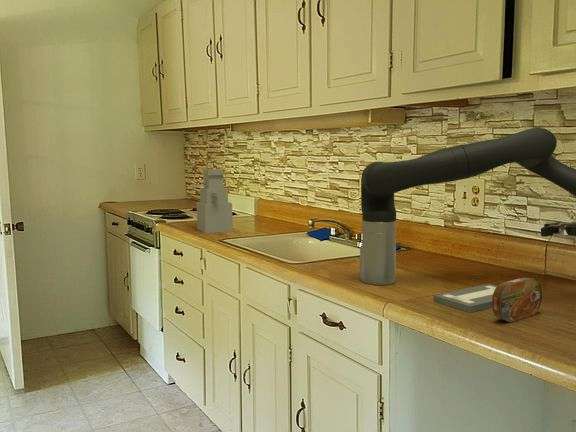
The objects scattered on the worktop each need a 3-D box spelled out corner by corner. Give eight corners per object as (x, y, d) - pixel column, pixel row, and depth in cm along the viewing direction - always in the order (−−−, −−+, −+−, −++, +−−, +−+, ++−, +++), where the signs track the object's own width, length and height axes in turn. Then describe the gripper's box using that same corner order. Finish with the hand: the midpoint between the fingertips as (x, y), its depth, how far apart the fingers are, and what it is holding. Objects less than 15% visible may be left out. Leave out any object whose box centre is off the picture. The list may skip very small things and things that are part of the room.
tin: (501, 325, 113) (502, 286, 112) (488, 321, 116) (489, 283, 115) (542, 313, 122) (544, 276, 121) (529, 309, 124) (531, 273, 123)
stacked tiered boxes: (219, 226, 265) (217, 168, 261) (236, 232, 244) (235, 170, 240) (193, 227, 259) (191, 169, 256) (208, 234, 238) (207, 170, 235)
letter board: (433, 301, 131) (433, 294, 131) (488, 289, 142) (488, 283, 141) (470, 312, 122) (470, 305, 122) (525, 299, 132) (526, 293, 132)
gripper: (571, 210, 138) (531, 215, 130) (630, 215, 126) (591, 221, 117) (570, 239, 139) (530, 246, 130) (629, 247, 127) (589, 255, 118)
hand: (559, 234), depth 124 cm, fingers open, 8 cm apart
